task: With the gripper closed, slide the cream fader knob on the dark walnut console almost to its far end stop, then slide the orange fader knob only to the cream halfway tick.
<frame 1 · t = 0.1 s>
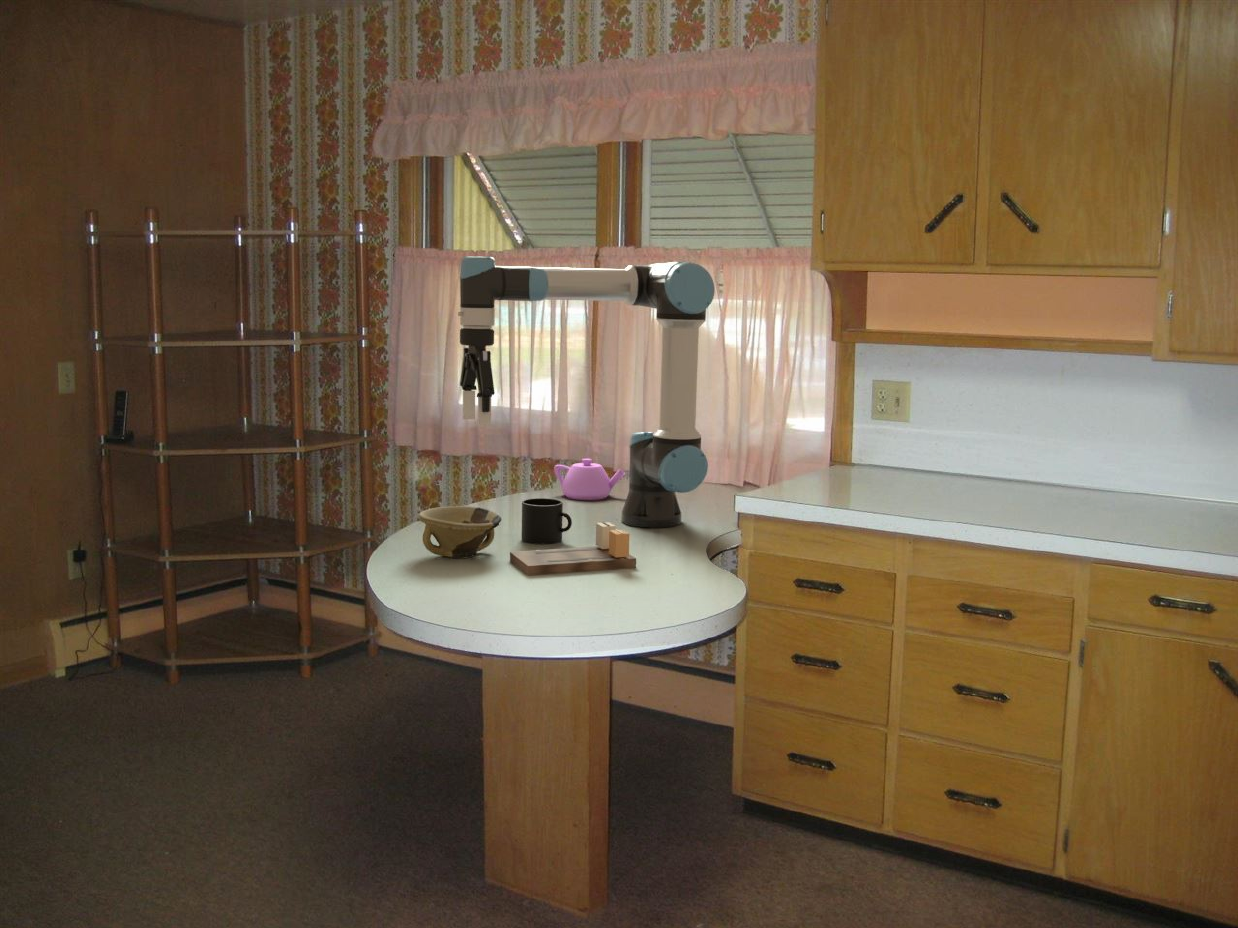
hand: (476, 423, 270), 28 cm above the kitchen counter, fingers open, 13 cm apart
mug: (546, 541, 281), on the kitchen counter
orange fader knob: (618, 565, 258), resting on console board, slide at 0.0 cm
teapot: (589, 497, 337), on the kitchen counter
bowl: (459, 556, 264), on the kitchen counter
console board: (572, 564, 258), on the kitchen counter
cream fader knob: (605, 557, 265), resting on console board, slide at 0.0 cm
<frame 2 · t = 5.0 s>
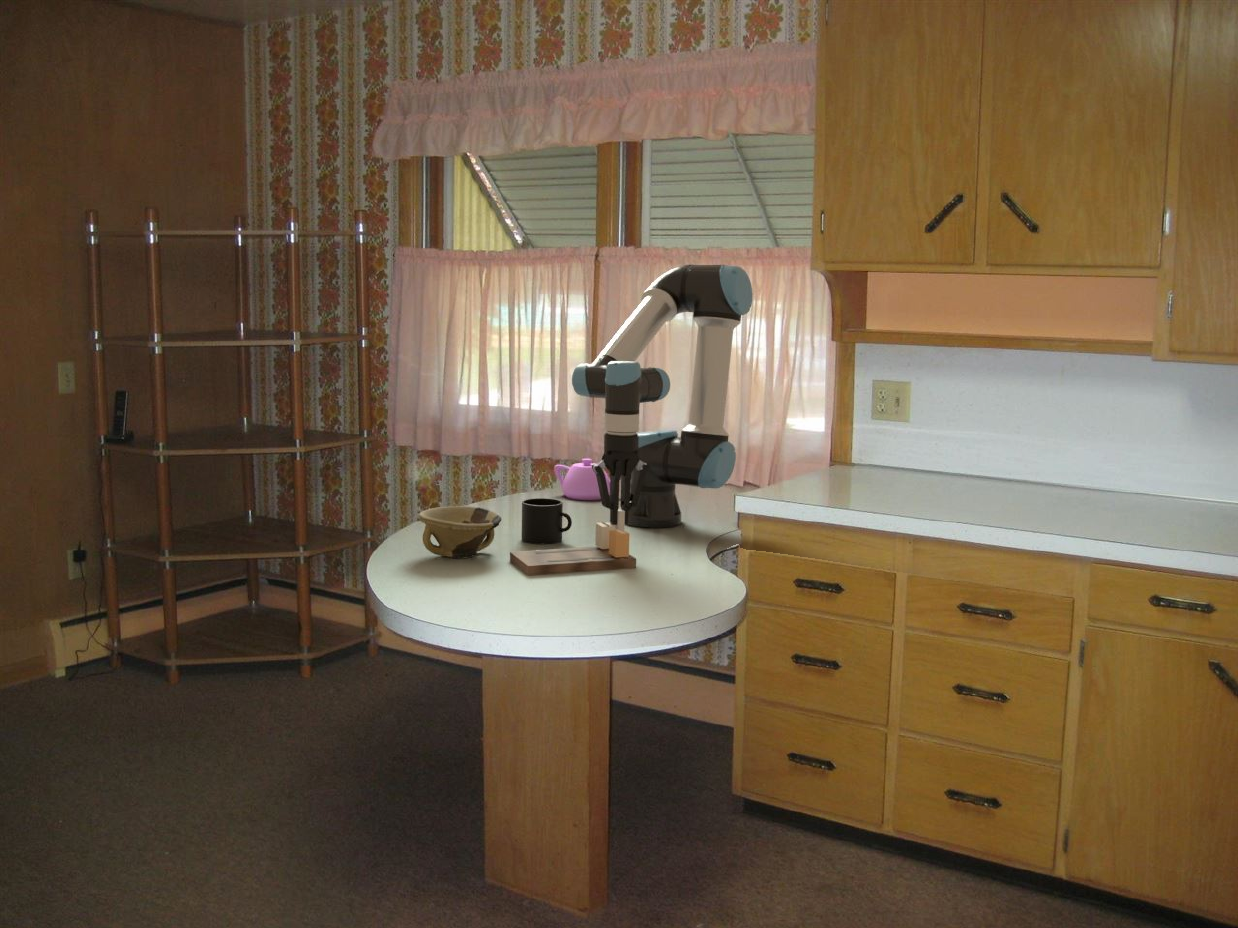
hand: (618, 538, 266), 4 cm above the kitchen counter, fingers closed
cream fader knob: (604, 557, 265), resting on console board, slide at 0.1 cm, touching gripper
everything else where it was.
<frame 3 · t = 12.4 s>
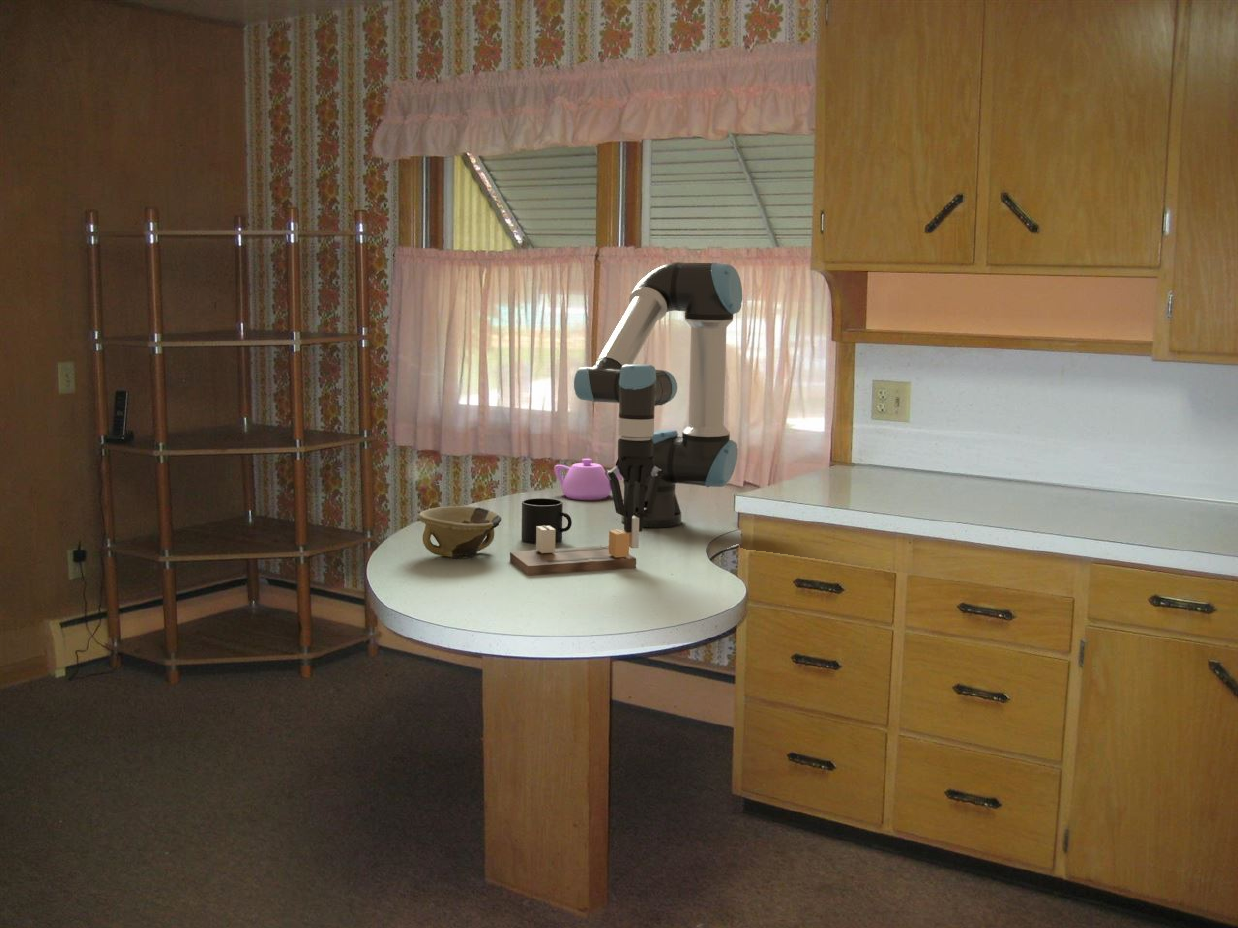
hand: (632, 546, 258), 4 cm above the kitchen counter, fingers closed
orange fader knob: (618, 565, 258), resting on console board, slide at 0.0 cm, touching gripper
cream fader knob: (545, 561, 260), resting on console board, slide at 13.8 cm
everything else where it was.
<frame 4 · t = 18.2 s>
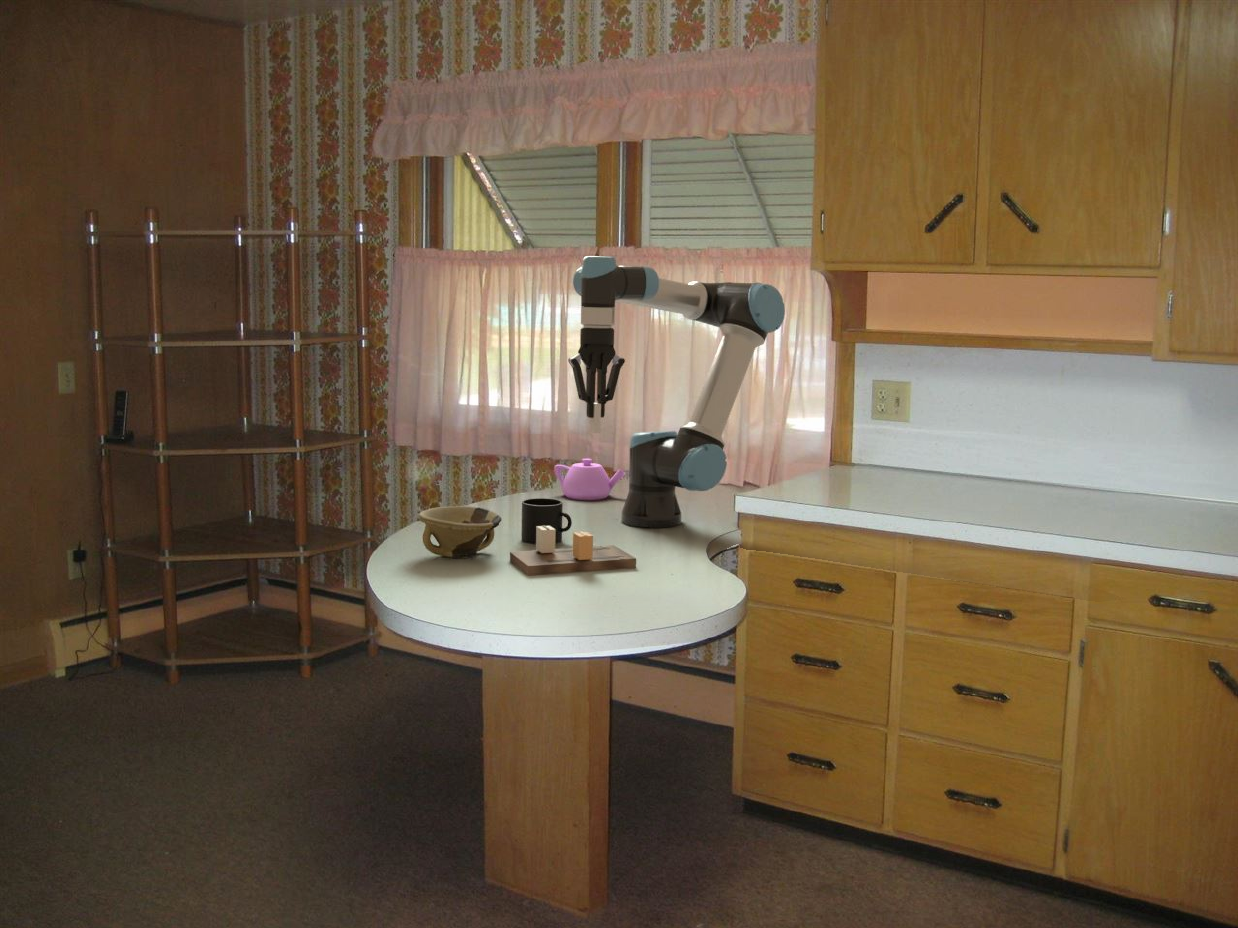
hand: (595, 432, 271), 26 cm above the kitchen counter, fingers closed
orange fader knob: (582, 568, 255), resting on console board, slide at 8.2 cm
everything else where it was.
at the end: cream fader knob slide at 13.8 cm; orange fader knob slide at 8.2 cm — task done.
